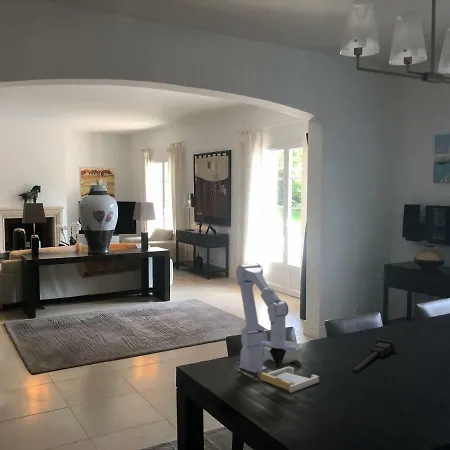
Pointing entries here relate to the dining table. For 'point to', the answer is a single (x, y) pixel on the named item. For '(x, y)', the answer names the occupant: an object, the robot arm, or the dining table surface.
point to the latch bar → (273, 380)
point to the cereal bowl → (288, 355)
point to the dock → (296, 386)
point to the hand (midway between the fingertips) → (278, 367)
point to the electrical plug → (377, 352)
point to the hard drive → (291, 377)
